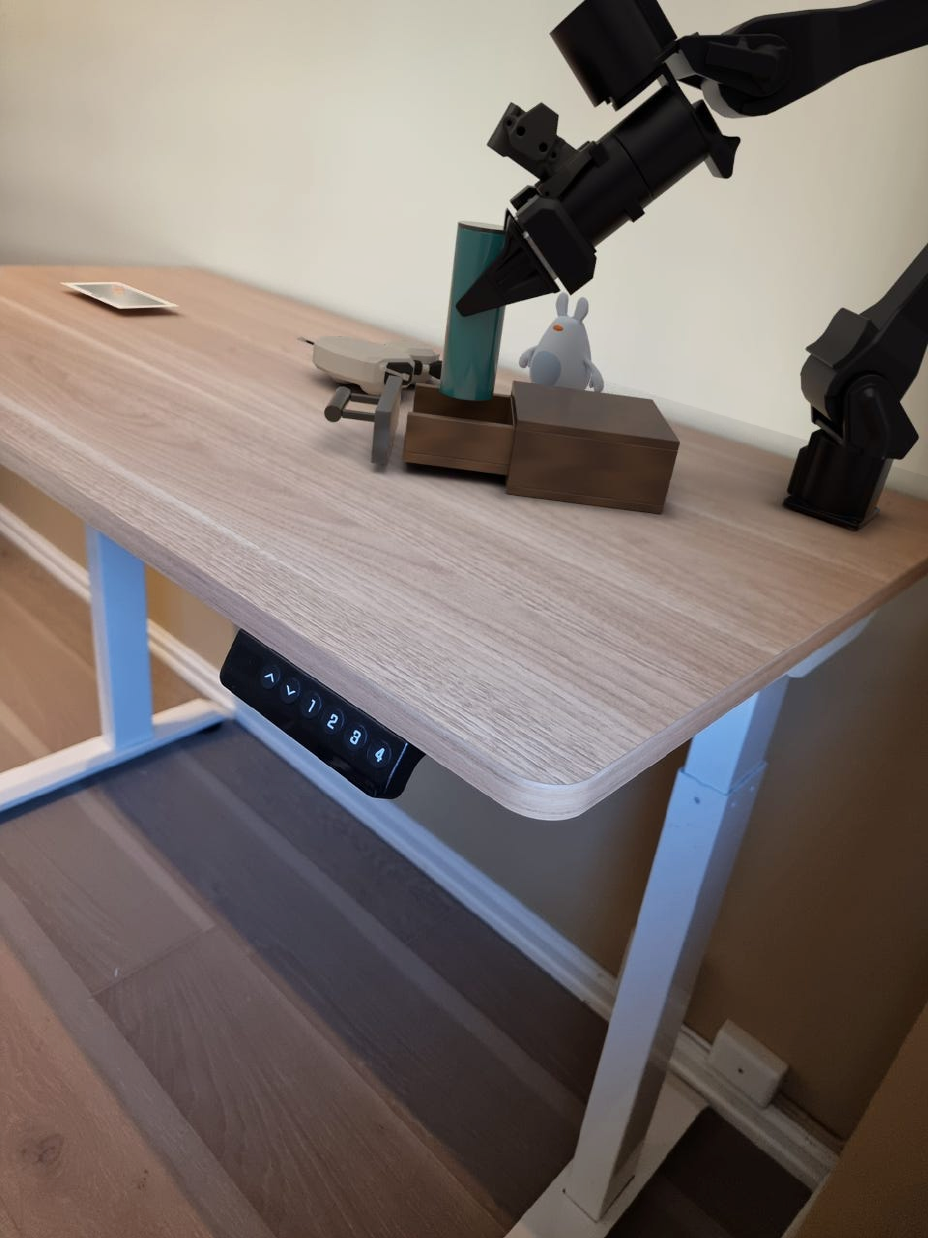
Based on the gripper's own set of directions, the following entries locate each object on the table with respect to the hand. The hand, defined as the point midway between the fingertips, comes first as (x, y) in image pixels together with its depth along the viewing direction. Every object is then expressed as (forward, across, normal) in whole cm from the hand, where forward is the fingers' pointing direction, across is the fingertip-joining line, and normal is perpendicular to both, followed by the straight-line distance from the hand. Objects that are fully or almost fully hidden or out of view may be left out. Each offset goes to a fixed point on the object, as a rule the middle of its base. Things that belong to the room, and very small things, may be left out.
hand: (459, 306), depth 68 cm
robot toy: (+14, -21, +4) cm, 26 cm away
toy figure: (+1, -18, +16) cm, 24 cm away
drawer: (+9, 0, +7) cm, 12 cm away
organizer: (+1, 0, +17) cm, 17 cm away
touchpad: (+39, -44, -21) cm, 62 cm away
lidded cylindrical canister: (+4, 0, +6) cm, 7 cm away
